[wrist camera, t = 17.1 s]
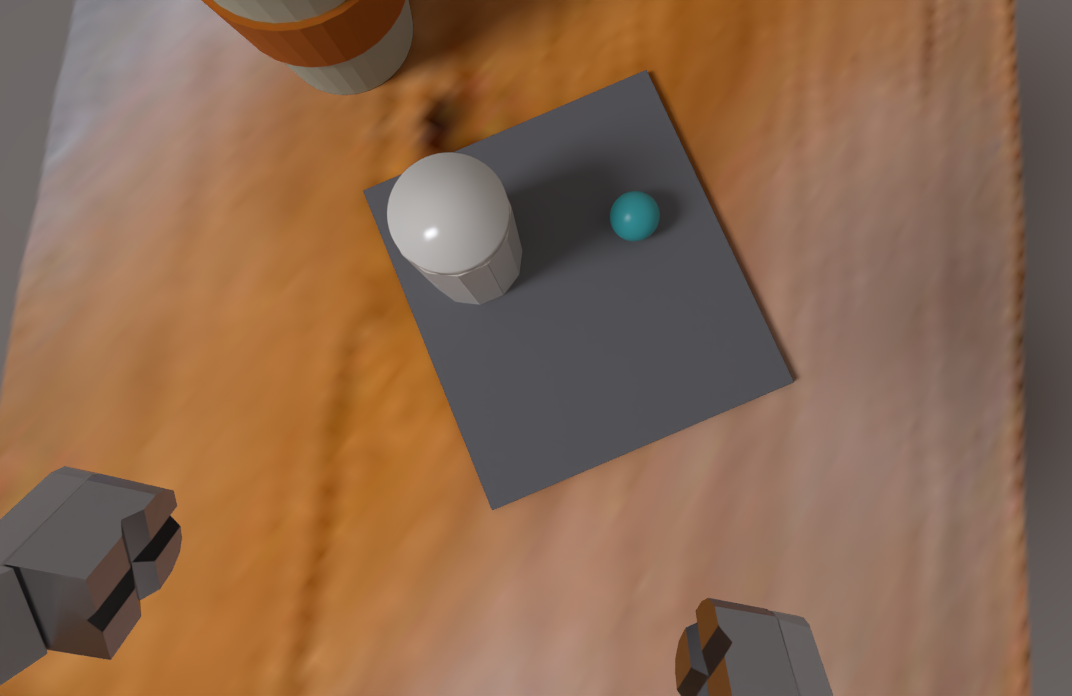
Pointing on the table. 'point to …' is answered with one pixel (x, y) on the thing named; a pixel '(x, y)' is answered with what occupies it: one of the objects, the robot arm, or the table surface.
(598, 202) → the charcoal mat
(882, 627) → the table surface
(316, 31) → the reusable coffee cup
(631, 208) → the teal marble
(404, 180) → the cream tumbler
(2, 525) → the robot arm
